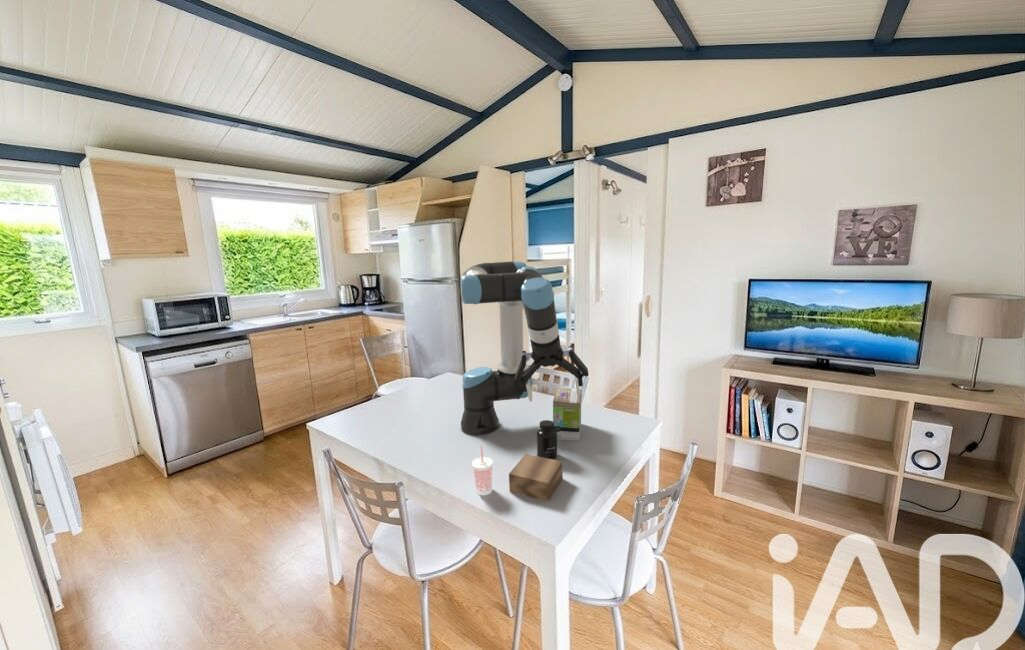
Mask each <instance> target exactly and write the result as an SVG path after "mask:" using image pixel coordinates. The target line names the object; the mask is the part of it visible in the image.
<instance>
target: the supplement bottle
mask: <svg viewBox="0 0 1025 650" xmlns="http://www.w3.org/2000/svg"><path fill="white" fill-rule="evenodd" d="M536 456H539V457H543V458H548V459H553V460H556V458H557V457H558V439H557V432H556V430H555V429H554V422H553V420H550V419H549V420H548V419H546V420H541V421H540V422H539V429H538V430H537V432H536Z"/></svg>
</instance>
